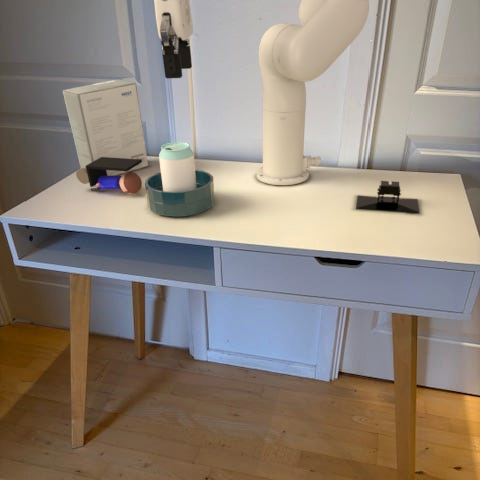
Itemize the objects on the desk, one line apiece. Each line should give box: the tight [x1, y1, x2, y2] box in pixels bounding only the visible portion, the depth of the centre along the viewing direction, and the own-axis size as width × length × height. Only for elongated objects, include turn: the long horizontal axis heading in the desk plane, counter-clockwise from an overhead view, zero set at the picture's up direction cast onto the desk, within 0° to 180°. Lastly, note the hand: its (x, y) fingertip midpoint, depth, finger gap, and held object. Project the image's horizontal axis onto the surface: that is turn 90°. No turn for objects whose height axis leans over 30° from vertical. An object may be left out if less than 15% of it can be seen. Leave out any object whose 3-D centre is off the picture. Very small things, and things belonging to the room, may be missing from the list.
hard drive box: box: [62, 78, 149, 176], centre depth 120 cm, size 16×8×20 cm, turn 133°
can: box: [158, 141, 197, 192], centre depth 102 cm, size 7×7×12 cm
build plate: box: [355, 180, 420, 215], centre depth 101 cm, size 12×7×5 cm, turn 76°
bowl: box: [144, 168, 216, 217], centre depth 104 cm, size 14×14×6 cm
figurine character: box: [75, 157, 143, 195], centre depth 112 cm, size 7×8×15 cm
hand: (179, 73), depth 97 cm, fingers open, 9 cm apart
